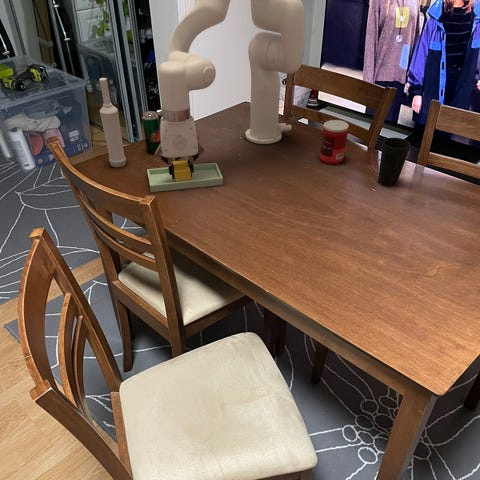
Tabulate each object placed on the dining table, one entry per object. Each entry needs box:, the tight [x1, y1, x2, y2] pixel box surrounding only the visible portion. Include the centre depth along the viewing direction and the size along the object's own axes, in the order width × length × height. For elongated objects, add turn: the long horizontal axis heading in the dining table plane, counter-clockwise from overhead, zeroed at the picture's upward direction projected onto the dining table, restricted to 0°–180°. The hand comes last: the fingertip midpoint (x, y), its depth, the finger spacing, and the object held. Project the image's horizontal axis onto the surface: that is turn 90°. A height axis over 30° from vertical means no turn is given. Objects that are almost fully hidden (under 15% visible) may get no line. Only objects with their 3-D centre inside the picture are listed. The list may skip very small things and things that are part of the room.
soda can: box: [141, 110, 161, 154], centre depth 153 cm, size 5×5×12 cm
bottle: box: [99, 77, 127, 168], centre depth 142 cm, size 5×5×25 cm
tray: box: [146, 162, 224, 193], centre depth 142 cm, size 21×10×2 cm, turn 103°
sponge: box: [172, 159, 191, 182], centre depth 141 cm, size 4×7×4 cm, turn 13°
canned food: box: [319, 119, 350, 165], centre depth 150 cm, size 8×8×11 cm
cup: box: [377, 137, 412, 188], centre depth 139 cm, size 8×8×12 cm
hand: (181, 175), depth 142 cm, fingers closed on sponge, 4 cm apart
